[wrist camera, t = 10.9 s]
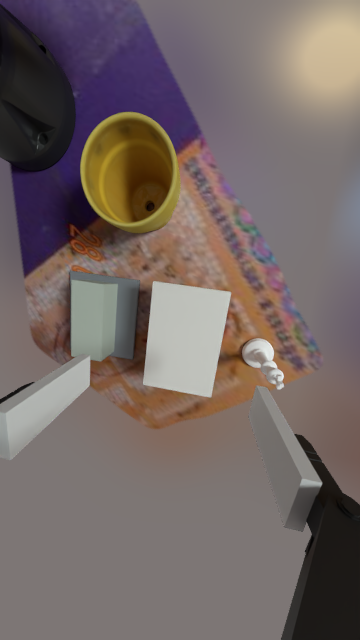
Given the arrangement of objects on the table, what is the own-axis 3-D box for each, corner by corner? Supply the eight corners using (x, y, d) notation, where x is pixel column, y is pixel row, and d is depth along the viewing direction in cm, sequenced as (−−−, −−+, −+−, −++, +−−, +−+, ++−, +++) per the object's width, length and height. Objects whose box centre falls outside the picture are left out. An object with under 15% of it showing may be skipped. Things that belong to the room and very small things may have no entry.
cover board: (156, 281, 25) (153, 281, 24) (229, 291, 25) (231, 292, 23) (146, 379, 29) (143, 384, 27) (210, 391, 28) (210, 397, 26)
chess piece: (273, 337, 30) (306, 365, 20) (272, 365, 31) (303, 404, 21) (241, 338, 31) (259, 366, 21) (242, 366, 32) (259, 404, 22)
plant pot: (162, 257, 30) (142, 246, 20) (108, 220, 29) (63, 191, 20) (200, 195, 27) (197, 149, 18) (141, 153, 27) (107, 85, 17)
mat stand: (72, 271, 32) (49, 269, 27) (139, 280, 31) (127, 280, 26) (72, 347, 35) (51, 357, 30) (133, 358, 34) (121, 371, 29)
